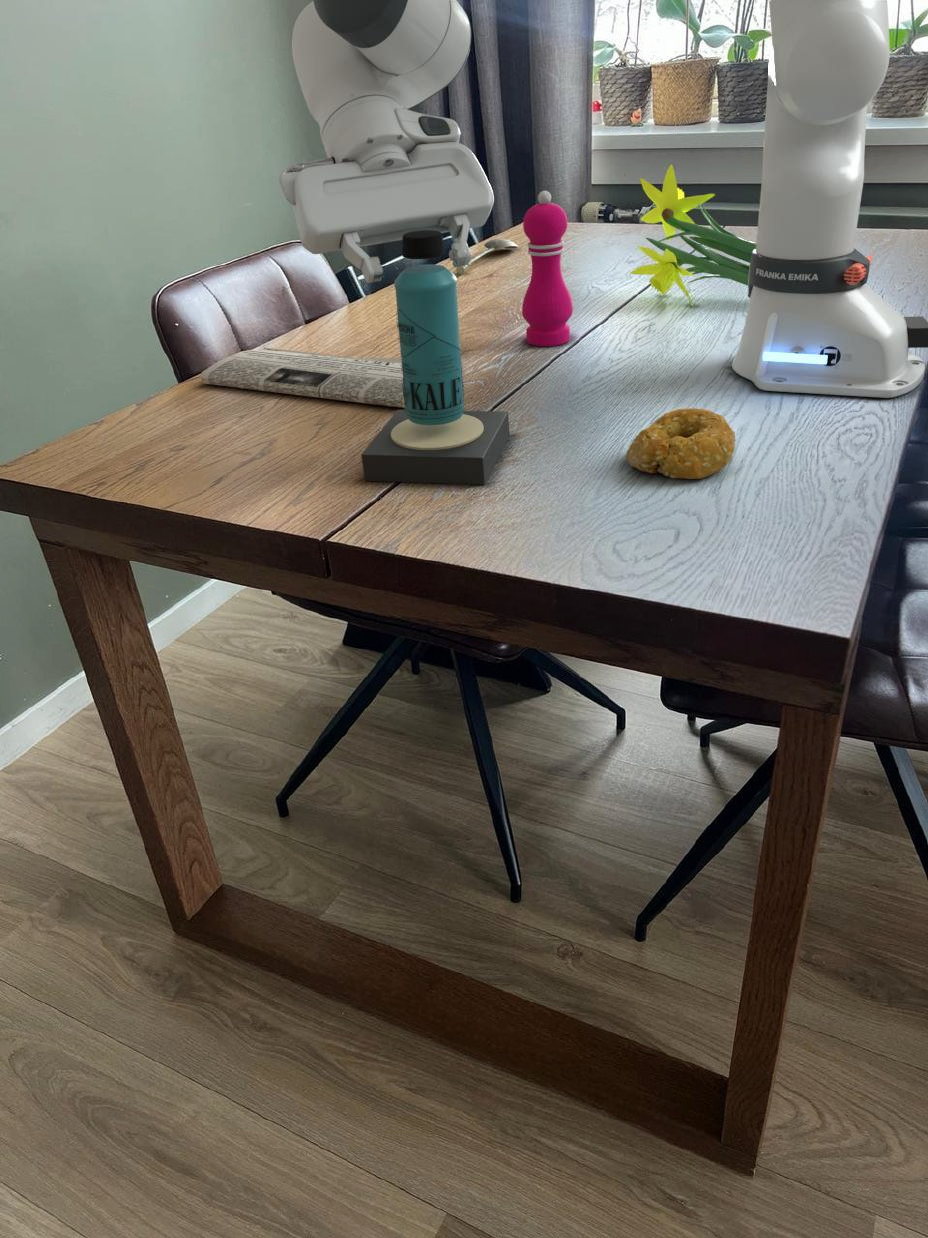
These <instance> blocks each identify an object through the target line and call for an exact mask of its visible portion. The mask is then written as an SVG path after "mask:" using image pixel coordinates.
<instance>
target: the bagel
mask: <svg viewBox="0 0 928 1238" xmlns="http://www.w3.org/2000/svg"><path fill="white" fill-rule="evenodd" d="M735 450H736V433H735V431H734V430H733V428H732V427H731V425H730V424H729V422H728V421H727V419H726V418H725V417H724V416H722V415H721V414H719V413H716V412H713V411H712V410H710V409H705V408H695V407H694V408H693V407H691V408H676V409H675V410H672V411H669V412H664V413H663V415H661V416H660V417H657V419H655V421H653V423H652V424H651V425H650V426H648V427H646V428H644V429H642V430H640V431H639V432H638V434H637V435H636V436H635V437H634V439H633V440H632V441H631V444H630V445H629V447H628V449H627V450H626V453H625V461H626V462H627V463H628V464H629V466H631V467H632V468H635V469H637V470H639V471H641V472H642V473H643V472H644V473H647V474H648V473H649V474H657V473H659V474H662V475H663V476H665V477H669V478H671V479H685V480H687V479H688V480H695V479H697V480H698V479H699V480H700V479H704V478H707V477H709V476H711V475H712V474H715V473H718V472H720V471H721V470H723V468H725V467H726V466H727V465H729V462H730V461H731V460H732V457H733V454H734V452H735Z"/></svg>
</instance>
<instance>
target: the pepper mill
mask: <svg viewBox="0 0 928 1238" xmlns="http://www.w3.org/2000/svg"><path fill="white" fill-rule="evenodd" d="M537 201H538V203H537V204H535V205H532V206H531V207H530V208H529V209H528V210H527V211H526V212H525V215H524V216H523V221H522V229H523V233H524V235H525V236H526V237H527V238H528V240H529V242H527V247H528V248H527V249H528V250H527V254H528V255H529V256H530V258H531V259H530V260H531V276H530V281H529V284H528V286H527V289H526V292H525V295H524V297H523V301H522V308H521V314H522V317H523V320H525V322H526V323H527V324H528V325H529V326H528V327H527V328H526V329H525V331H526V333H525V335H526V343H527V344H529V345H530V346H535V347H556V346H560V345H563V344H566V343H568V342H569V341H570V339H571V327H570V325H569V324H567V322H568V321H569V320H570V319H571V317H572V315H573V312H574V308H573V307H574V306H573V299H572V296H571V294H570V291H569V289H568V287H567V285H566V282H565V280H564V277H563V274H562V273H563V272H562V266H561V258H562V253H564V252H565V248H564V244H565V241H564V240H563V239H562V238H563V236H564V234H565V233H567V229H568V217H567V214H566V212H565V210H564V209H563V208H562V207H561V206H560V205H558V204H556V203H553V202H551V201H552V195H551V193H550V191H547V190H542V191H540V192H539V194H538V195H537Z"/></svg>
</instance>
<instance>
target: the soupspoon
mask: <svg viewBox="0 0 928 1238" xmlns="http://www.w3.org/2000/svg"><path fill="white" fill-rule="evenodd" d="M483 247H485V248H486V249H484V250H483V251H481V252H480V253H478V254H477V255H475V256H474V257H471V260H470V262H469V265H466V266H460V267H455V271H456V272H457V274H459V275H460V276H461V275H462V276H463V275H464V274H465V272H466V269H467V268H468V267H469V266H470V265H471V264H472V263H474V262H476V261H477V260H478V259H480V258H482V257H483V256H485V255H487V254H490V253H491V252H494V251H497V250H501V249H517V248H519V246H518V244H516V243H515V242H513V241H511V240H509V239H505V238H494V239H490V240H489V241H486V242H485V243H484V244H483Z"/></svg>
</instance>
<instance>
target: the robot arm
mask: <svg viewBox="0 0 928 1238" xmlns="http://www.w3.org/2000/svg"><path fill="white" fill-rule="evenodd" d="M768 6H769V19H770V29H771V31H770V33H771V43H772V44H771V45H772V47H771V50H770V55H769V62H768V75H767V86H766V87H767V88H766V101H765V103H766V104H765V118H764V119H765V120H764V134H763V152H762V167H761V168H762V169H761V170H762V171H761V187H760V197H759V208H758V209H759V210H758V218H757V219H758V220H757V230H756V231H757V232H756V240H755V241H756V242H755V243H756V249H755V250H753V252H752V256H751V262H750V263H749V266H750V267H749V276H748V286H747V293H748V294H747V296H748V298H749V302H748V306H747V311H746V312H747V314H746V317H745V321H744V326H743V330H742V334H741V335H742V336H741V338H740V341H739V344H738V348H737V350H736V353H735V356H734V358H733V361H732V363H731V368H732V370H733V371H734V372H735V374H738V375H739V376H741V377H742V378H745V379H747V380H749V381H751V382H752V383H753V384H754V385H755V386H756V388H758V389H759V390H762V391H766V392H768V391H769V392H781V393H782V392H785V393H797V394H798V393H799V394H801V393H802V394H813V395H814V394H818V395H830V396H831V395H832V396H833V395H835V396H847V397H848V396H849V397H867V398H883V399H890V398H896V397H900V396H902V395H905V394H907V393H910V392H911V391H913V390H914V389H915V388H916V387H918V386H919V385H920V384H921V382H922V381H923V379H924V378H925V374H926V364H925V361H924V360H923V359H922V358H921V357H919V356H918V355H915V354H909V349H927V348H928V321H927V319H926V318H925V317H924V316H923V315H920V316H919V315H918V316H903V315H902V314H901V313H900V312H899V311H898V310H896V309H895V307H893V306H892V305H890V304H889V303H888V302H887V301H886V300H885V299H884V298H882V296H880V295H879V294H878V293H877V292H876V291H875V290H874V289H872V287H870V286H869V285H868V284H867V283H868V279H869V273H870V268H871V267H870V266H871V265H872V262H871V261H872V260H873V255H872V254H869V255H868V256H867V257H866V256H865V255H864V254H863V253H861V252H860V251H859V250H857V249H856V248H855V244H856V239H857V238H856V237H857V230H858V223H859V215H860V209H861V202H862V195H863V188H864V181H865V152H866V151H865V150H866V131H867V120H868V119H867V117H868V105H869V103H870V102H871V101H872V100H873V99H874V97H876V95H877V93H878V92H879V90H880V89H881V87H882V85H883V83H884V81H885V78H886V76H887V72H888V69H889V64H890V57H891V56H890V55H891V48H890V24H889V9H888V6H889V5H888V0H768ZM470 21H471V20H470V19H469V16H468V14H467V12H466V10H465V9H464V8H463V7H462V6H461V4H460V3H459V2H458V0H312V1H311V2H309V4H307V5H306V6H305V7H304V8H303V10H302V11H301V12H300V13H299V15H298V16H297V18H296V20H295V22H294V25H293V30H292V35H291V52H292V53H291V54H292V59H293V60H292V61H293V65H294V69H295V73H296V76H297V80H298V82H299V86H300V89H301V92H302V94H303V97H304V100H305V103H306V106H307V108H308V111H309V112H310V114H311V116H312V118H313V119H314V120H315V121H316V123H317V124H318V126H319V134H320V140H321V144H322V147H323V149H324V151H325V154H326V158H325V157H324V158H320V159H319V158H318V159H314V160H310V161H304V162H303V161H296V162H293V163H290V164H289V165H288V168H285V169H284V170H283V171H282V172H281V173H280V175H279V178H278V180H279V185H280V189H281V191H282V193H283V195H284V197H285V200H286V201H287V202H288V203H290V204H291V205H292V209H293V215H294V221H295V226H296V229H297V233H298V236H299V240H300V242H301V246H302V247H303V248H304V249H305V250H306V251H308V252H310V254H313V255H321V254H326V253H332V252H338V251H341V252H342V254H343V257H344V259H345V260H347V261H348V262H349V263H351V265H353V266H354V267H356V268H357V269H358V270H359V271H361V273H362V276H363V278H364V281H365V283H366V284H371V283H376V282H382V280H383V278H382V277H384V268H383V266H382V264H381V261H380V258H379V256H378V255H377V256H370V255H369V254H368V253H367V252H365V250H364V249H363V248H364V247H367V246H375V245H379V244H385V243H392V242H397V241H402V237H403V235H404V234H406V233H408V232H413V231H420V230H434V231H439V232H441V233H442V234H445V233H449V234H450V237H451V238H452V239H453V240H454V239H457V241H456V242H453V243H452V244H451V246H450V248H451V249H450V250H449V252H448V256H449V259H450V261H452V266H453V268H457V267H460V266H466V265H469V266H470V264H469V262H470V260H471V259H472V252H471V250H470V248H469V245H468V242H467V241H468V237H469V231H470V229H475V228H481V227H483V226H484V225H485V224H486V222H487V221H488V219H489V216H490V214H491V212H492V210H493V207H494V203H495V196H494V195H495V194H494V191H493V189H492V186H491V184H490V182H489V180H488V177H487V175H486V174H485V171H484V169H483V167H482V165H481V164H480V162H479V160H478V159H477V157H476V155H475V153H473V151H472V150H471V149H470V148H469V147H468V146H466V145H465V144H463V143H460V138H461V130H460V127H459V125H458V123H457V121H455V120H454V119H452V118H448V117H442V116H437V115H436V116H435V115H431V114H426V113H422V112H417V111H413V110H411V109H412V108H415V107H416V106H418V105H420V104H422V103H424V102H425V101H427V100H428V99H431V98H432V97H434V96H435V95H437V94H438V93H440V92H442V91H443V90H444V89H446V88H447V87H448V86H450V85H451V84H452V83H454V81H455V80H456V79H457V77H458V76H459V75H460V74H461V72H462V71H463V69H464V67H465V65H466V63H467V60H468V57H469V54H470V51H471V45H472V25H471V22H470ZM361 247H363V248H361Z"/></svg>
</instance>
